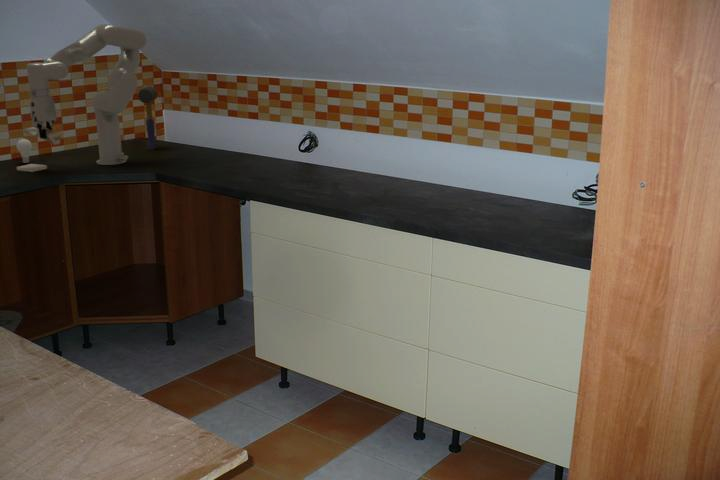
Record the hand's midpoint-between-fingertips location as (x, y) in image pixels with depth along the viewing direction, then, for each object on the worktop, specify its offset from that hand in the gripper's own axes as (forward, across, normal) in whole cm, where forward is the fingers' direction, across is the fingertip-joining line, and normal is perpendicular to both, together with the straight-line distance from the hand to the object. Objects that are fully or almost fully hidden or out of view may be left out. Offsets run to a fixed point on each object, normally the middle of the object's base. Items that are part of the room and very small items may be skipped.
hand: (46, 137), depth 340 cm
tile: (+14, -1, +5) cm, 15 cm away
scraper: (0, 0, +2) cm, 2 cm away
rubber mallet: (+16, +59, -7) cm, 61 cm away
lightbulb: (+14, +8, +22) cm, 28 cm away
